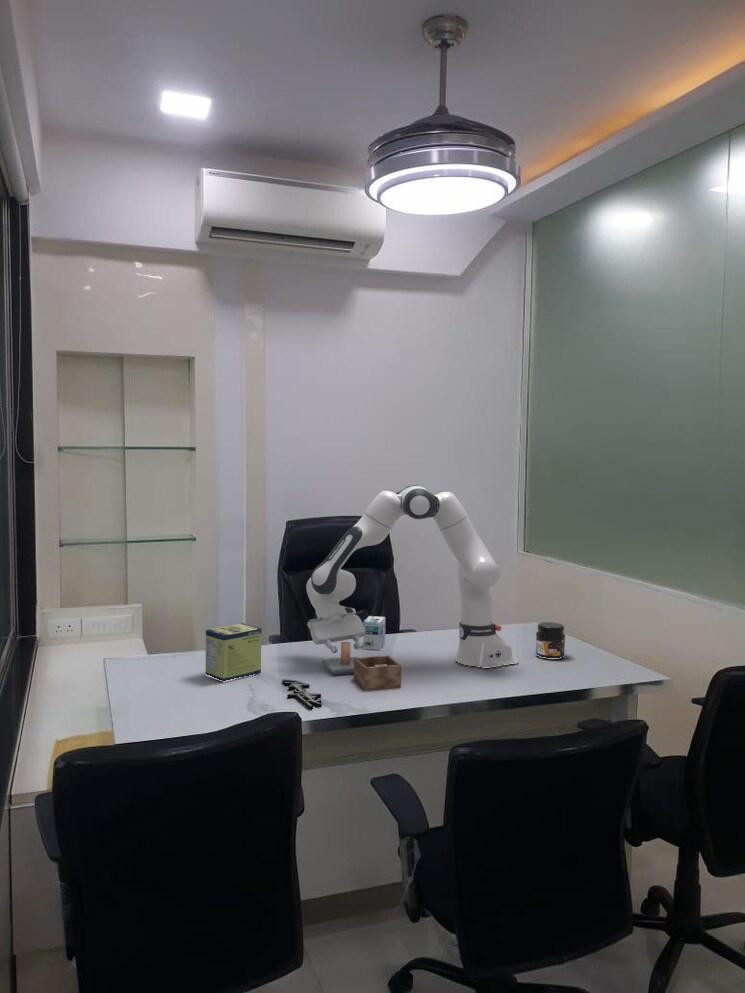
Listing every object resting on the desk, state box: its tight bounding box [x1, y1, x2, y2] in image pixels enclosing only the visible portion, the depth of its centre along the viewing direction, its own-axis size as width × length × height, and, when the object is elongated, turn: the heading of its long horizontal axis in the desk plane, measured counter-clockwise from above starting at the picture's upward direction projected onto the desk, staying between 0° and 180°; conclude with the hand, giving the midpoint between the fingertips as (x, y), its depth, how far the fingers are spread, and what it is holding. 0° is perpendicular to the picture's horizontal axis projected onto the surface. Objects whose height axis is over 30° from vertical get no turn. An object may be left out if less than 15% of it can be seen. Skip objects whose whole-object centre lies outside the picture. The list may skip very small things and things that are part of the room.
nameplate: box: [281, 679, 322, 711], centre depth 231 cm, size 28×2×10 cm
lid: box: [321, 641, 360, 676], centre depth 258 cm, size 13×13×10 cm
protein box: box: [204, 622, 262, 681], centre depth 250 cm, size 10×16×16 cm
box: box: [353, 655, 402, 691], centre depth 244 cm, size 12×12×7 cm
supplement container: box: [535, 621, 566, 658], centre depth 279 cm, size 10×10×12 cm
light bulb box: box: [363, 615, 386, 651], centre depth 290 cm, size 11×7×11 cm, turn 168°
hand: (346, 650), depth 257 cm, fingers open, 8 cm apart
